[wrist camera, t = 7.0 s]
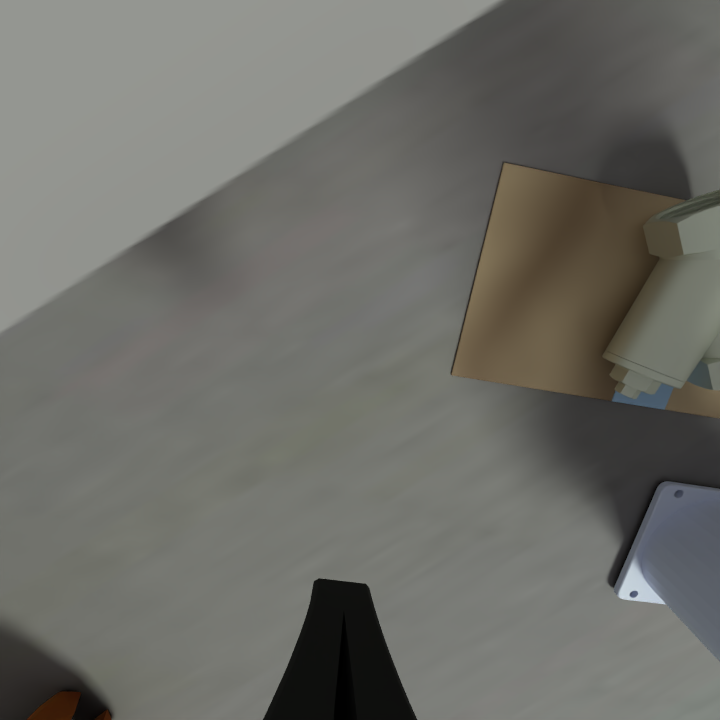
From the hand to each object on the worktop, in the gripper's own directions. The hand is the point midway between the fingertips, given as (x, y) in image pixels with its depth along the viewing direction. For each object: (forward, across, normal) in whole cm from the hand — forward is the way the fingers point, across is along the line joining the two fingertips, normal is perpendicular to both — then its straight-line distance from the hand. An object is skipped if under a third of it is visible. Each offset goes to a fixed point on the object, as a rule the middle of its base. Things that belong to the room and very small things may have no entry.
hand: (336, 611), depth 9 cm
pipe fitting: (+10, -14, -9) cm, 20 cm away
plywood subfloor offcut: (+10, -15, -9) cm, 20 cm away
